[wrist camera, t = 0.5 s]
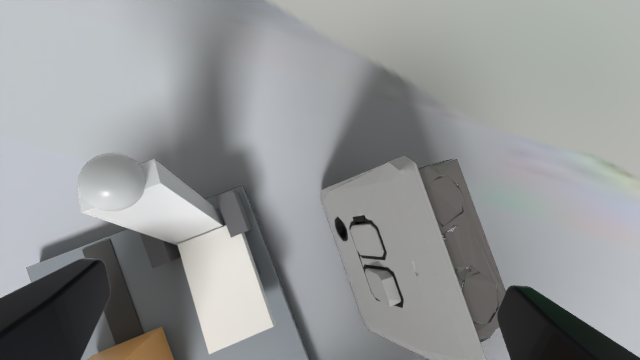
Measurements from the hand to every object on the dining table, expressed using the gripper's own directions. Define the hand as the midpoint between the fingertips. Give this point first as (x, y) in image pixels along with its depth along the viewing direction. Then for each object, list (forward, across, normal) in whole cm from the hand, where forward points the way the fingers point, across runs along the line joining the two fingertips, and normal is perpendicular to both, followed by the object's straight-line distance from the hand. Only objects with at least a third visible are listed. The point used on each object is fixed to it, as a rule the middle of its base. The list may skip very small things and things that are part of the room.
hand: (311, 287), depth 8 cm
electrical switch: (+13, -5, +8) cm, 16 cm away
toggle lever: (+11, +6, +6) cm, 14 cm away
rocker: (+9, +4, +8) cm, 13 cm away
